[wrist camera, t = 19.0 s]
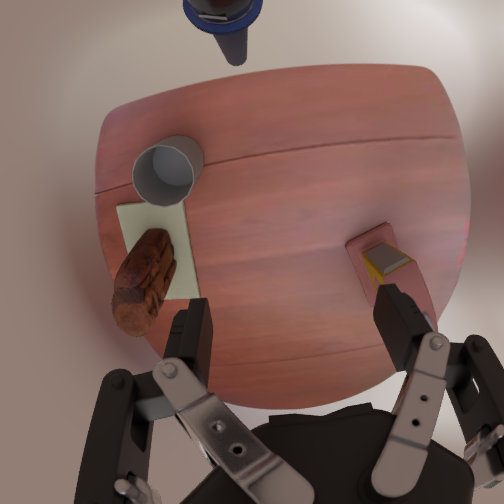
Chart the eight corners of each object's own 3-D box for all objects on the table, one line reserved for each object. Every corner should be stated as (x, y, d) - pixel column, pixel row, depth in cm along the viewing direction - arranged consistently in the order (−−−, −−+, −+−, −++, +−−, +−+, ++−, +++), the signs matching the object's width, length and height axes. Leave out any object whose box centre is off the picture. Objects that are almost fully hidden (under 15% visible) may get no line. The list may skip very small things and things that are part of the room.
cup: (214, 155, 45) (207, 170, 36) (184, 195, 48) (171, 218, 39) (171, 124, 42) (153, 132, 34) (143, 166, 45) (121, 183, 37)
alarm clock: (338, 231, 52) (384, 310, 33) (383, 208, 50) (447, 274, 31) (372, 311, 61) (407, 389, 42) (408, 292, 59) (453, 364, 40)
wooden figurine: (180, 282, 55) (160, 354, 39) (148, 282, 55) (119, 351, 39) (171, 223, 49) (140, 286, 34) (136, 225, 49) (94, 285, 34)
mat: (117, 204, 48) (115, 206, 48) (183, 196, 48) (181, 198, 47) (143, 297, 58) (142, 300, 57) (200, 295, 58) (199, 298, 57)
